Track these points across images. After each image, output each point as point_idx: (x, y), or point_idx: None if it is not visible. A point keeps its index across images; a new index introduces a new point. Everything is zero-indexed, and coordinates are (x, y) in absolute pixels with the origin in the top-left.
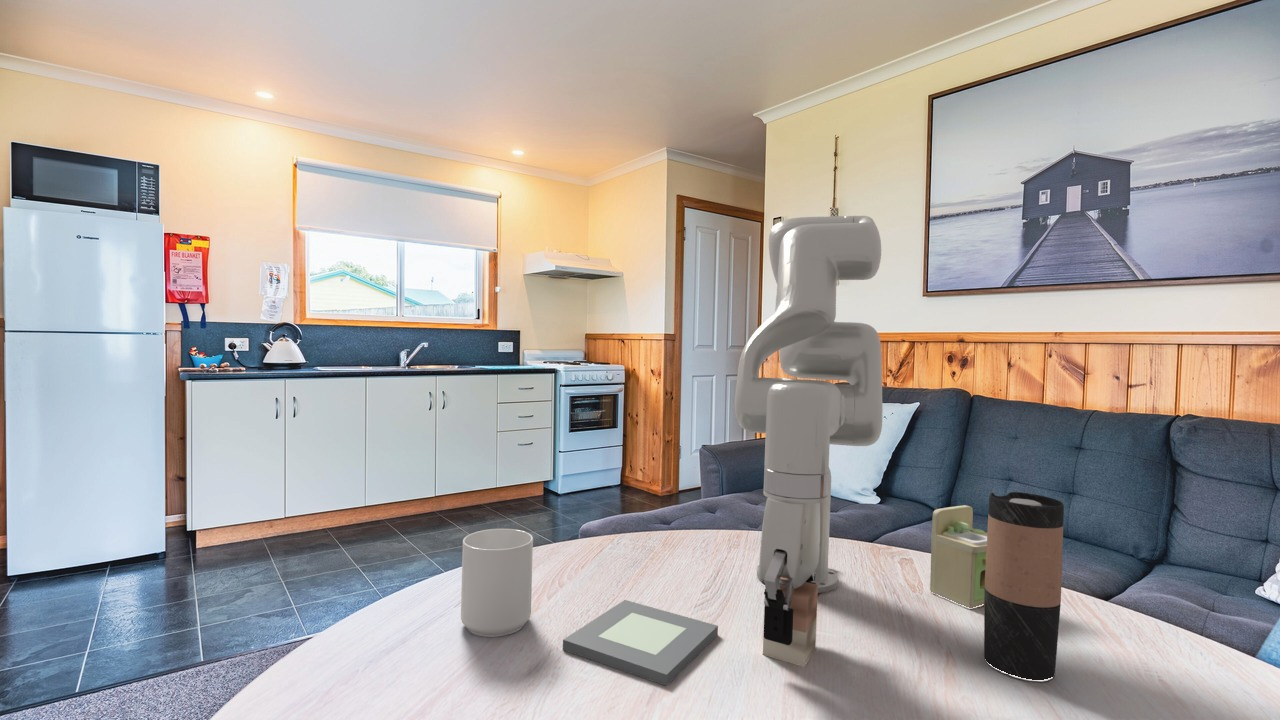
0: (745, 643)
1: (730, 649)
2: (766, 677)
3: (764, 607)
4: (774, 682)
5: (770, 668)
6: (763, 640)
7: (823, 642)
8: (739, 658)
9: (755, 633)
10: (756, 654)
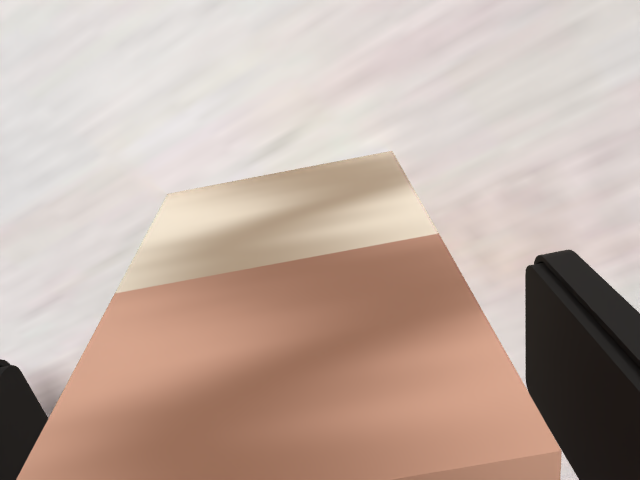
0: (197, 52)
1: (53, 23)
2: (3, 308)
3: (77, 367)
4: (4, 346)
5: (85, 283)
6: (148, 230)
7: (503, 329)
8: (20, 126)
9: (364, 25)
10: (140, 169)
